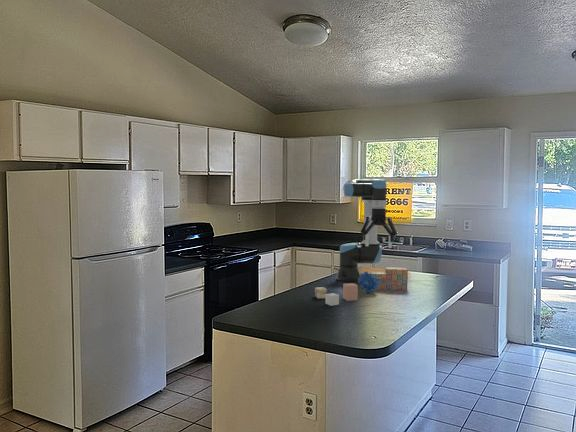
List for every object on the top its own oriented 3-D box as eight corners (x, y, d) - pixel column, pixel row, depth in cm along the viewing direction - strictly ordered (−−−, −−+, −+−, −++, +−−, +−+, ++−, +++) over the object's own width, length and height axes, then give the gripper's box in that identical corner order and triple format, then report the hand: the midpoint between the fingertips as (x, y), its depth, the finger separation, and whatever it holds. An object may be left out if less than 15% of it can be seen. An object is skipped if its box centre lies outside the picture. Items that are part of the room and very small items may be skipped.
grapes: (355, 293, 285) (355, 272, 285) (359, 290, 291) (359, 270, 291) (375, 295, 280) (375, 273, 279) (379, 292, 286) (379, 271, 285)
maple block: (315, 296, 277) (315, 287, 276) (323, 296, 278) (323, 287, 277) (317, 298, 272) (317, 289, 271) (326, 298, 273) (326, 289, 273)
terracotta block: (343, 298, 273) (343, 283, 272) (353, 297, 274) (353, 283, 274) (346, 300, 267) (347, 285, 266) (357, 300, 268) (357, 285, 268)
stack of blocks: (370, 289, 296) (370, 268, 295) (369, 287, 302) (370, 266, 301) (407, 290, 294) (407, 269, 293) (406, 288, 300) (406, 267, 299)
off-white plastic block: (325, 303, 260) (325, 294, 260) (333, 302, 263) (333, 293, 263) (330, 305, 256) (330, 296, 256) (339, 304, 259) (339, 295, 258)
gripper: (355, 207, 276) (354, 246, 278) (398, 208, 262) (397, 249, 264) (361, 207, 283) (360, 244, 284) (403, 208, 269) (402, 247, 270)
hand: (378, 247), depth 274 cm, fingers open, 13 cm apart
